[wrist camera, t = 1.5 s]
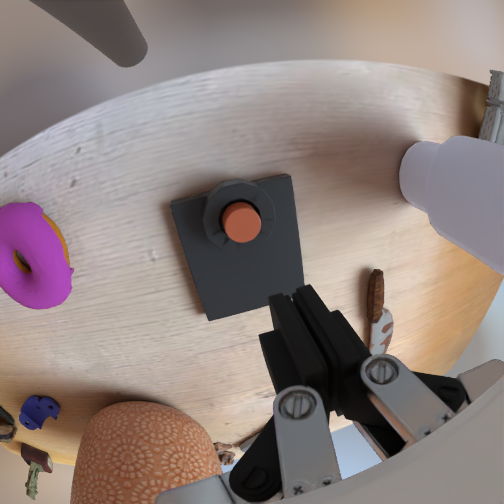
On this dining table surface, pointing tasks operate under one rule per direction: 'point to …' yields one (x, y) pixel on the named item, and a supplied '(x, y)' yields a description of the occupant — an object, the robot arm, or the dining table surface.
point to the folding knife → (6, 416)
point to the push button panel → (241, 245)
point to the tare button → (241, 222)
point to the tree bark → (224, 454)
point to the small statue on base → (35, 466)
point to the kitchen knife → (378, 315)
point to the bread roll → (7, 432)
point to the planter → (140, 454)
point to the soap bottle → (460, 193)
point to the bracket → (37, 411)
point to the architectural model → (494, 111)
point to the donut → (33, 257)
